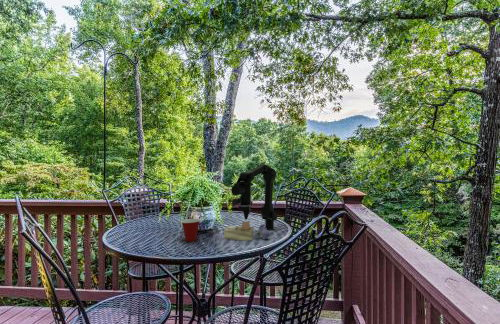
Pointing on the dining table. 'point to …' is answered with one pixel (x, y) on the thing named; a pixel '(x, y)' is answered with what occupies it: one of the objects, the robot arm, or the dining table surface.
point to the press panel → (239, 233)
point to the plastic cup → (190, 229)
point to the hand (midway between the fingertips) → (245, 219)
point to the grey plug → (232, 228)
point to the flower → (263, 232)
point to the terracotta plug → (246, 226)
